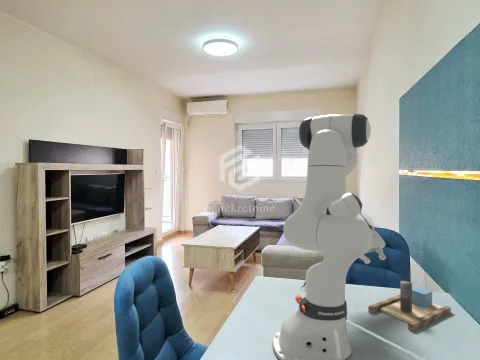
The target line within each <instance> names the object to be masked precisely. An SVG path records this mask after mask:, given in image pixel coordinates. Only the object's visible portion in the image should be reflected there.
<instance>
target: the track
mask: <svg viewBox="0 0 480 360" xmlns="http://www.w3.org/2000/svg"><path fill="white" fill-rule="evenodd" d="M397 301H400V294H397V295H395V296H392V297H389V298H387V299H384V300H381V301H379V302H376V303H374V304H373V303H372V304H370V305H368V307H367V308H368V309H367V311H368V312H369V313H371V314H375V313H377V312H381V311H380V308H382V307H385V306H387V305H390V304H392V303H395V302H397ZM451 308H452V307H451V306H448V305H444V306H442V308H439V309H437V310H435V311H433V312H431V313H429V314H427V315H424V316H422V317H420V318H418V319H416V320H414V321H411V322H409V323H408V322H407V330H409V331H411V332H415V331H417V330H419V329H421V328H423V327H424V326H427V325H428V324H431V323H433V322H434V321H437V320H439V319H441V318H443V317H445V316H446V315H449V314H451V312H452V309H451Z"/></svg>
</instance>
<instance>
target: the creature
mask: <svg viewBox="0 0 480 360" xmlns="http://www.w3.org/2000/svg"><path fill="white" fill-rule="evenodd" d="M305 287H306V280H304V283H303V285H302V286H300V287H299V289H302V288H305Z"/></svg>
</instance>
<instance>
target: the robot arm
mask: <svg viewBox="0 0 480 360" xmlns="http://www.w3.org/2000/svg"><path fill="white" fill-rule="evenodd" d="M371 132H372V127H371V124H370V121H369V119H368V117H367V116H366V115H365V114H361V113H353V114H347V113H346V114H343V113H342V114H325V115H318V116H311V117H307V118H304V119H303V120H302V121H301V122H300V125H299V130H298V137H299V141H300V142H299V143H300V144H301V145H302V146H303V147H304V148H305V149H307V150H308V156H307V167H306V168H307V173H306V184H305V185H306V186H305V192H304V196H303V199H302V201H301V203H300V205H299V206H298V208H297V209H296V210H295V211H294V212H293V213H292V214H290V215H289V216H288V217H287V218H286V219H285V222H284V225H283V236H284V238H285V241H286V242H287V243H288V244H290V245H292V246H293V247H296V248H298V249H299V248H300V249H301V250H307V251H313V252H320V253H323V259H322V260H323V261H319V262H317V263H315V264H313V265H311V266H310V267H309V268H308V269H307V271H306V272H305V273H306V274H305V281H306V285H305V288H306V289H305V296H304V297H302V296H301V295H300V294H297V295H296V296H295V298H294V299H295V301H296V303H297V304H298V309H297V310H295V311H294V312H293V313H291V314H289V316H287V317H286V318H284V319H283V321H282V322H281V326H280V331H276V332H275V334H274V335H273V337H272V349H273V351H274V354H275V355H276V356H277V358H278V359H279V360H346V359H348V358H349V357H350V355H351V354H352V346H351V343H350V340H349V335H348V334H349V333H348V329H347V319H348V306H347V305H348V303H347V300H346V282H347V275H348V272H349V270H350V267H352V265H353V263H355V261H357V259H360V260H361V261H363V262H364V264H366V265H368V264H370V263H371V262H372V261H371V259H370V257H368V256H366V255H365V254H368V253H373V252H376V253H378V258H379V260H381V261H384V260H386V259H387V256H386V255H385V253H384V251H383V248H384V247H386V242H385V240H384V239H383V238H382V236H381V235H380V234H379V233H378V231H376V230H375V227H374V225H372V224H368V223H367V222H366V221H364V220H362V219H359V218H358V217H357V216H359V215H360V214H361V211H362V209H363V203H362V201H361V199H360V198H359V196H357V195H356V194H354V193H352V192H348V193H346V189H347V177H348V176H349V175H350V174H351V173H352V172H353V171H354V170H355V168H356V166H357V164H358V148H361V147H364V146H365V145H366V144H367V143H368V141H369V139H370V137H371V134H372V133H371Z"/></svg>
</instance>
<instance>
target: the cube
mask: <svg viewBox="0 0 480 360" xmlns="http://www.w3.org/2000/svg"><path fill="white" fill-rule="evenodd" d="M432 303H433V291H432V290H428V289H425V288H422V287H420V286H419V287H414V288H412V304H415V305H418V306H420V307H423V308H426V307H429V306H431V305H432Z"/></svg>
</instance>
